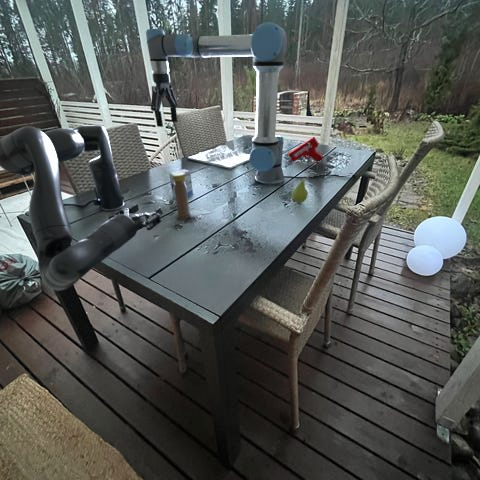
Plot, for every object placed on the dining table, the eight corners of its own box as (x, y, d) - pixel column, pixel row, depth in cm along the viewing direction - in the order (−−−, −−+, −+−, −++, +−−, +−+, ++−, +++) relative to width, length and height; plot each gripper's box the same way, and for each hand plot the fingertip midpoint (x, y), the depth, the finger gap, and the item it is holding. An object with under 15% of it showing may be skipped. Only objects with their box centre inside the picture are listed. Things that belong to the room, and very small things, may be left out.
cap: (187, 179, 101) (186, 174, 100) (175, 182, 99) (175, 176, 98) (182, 176, 104) (181, 170, 103) (171, 178, 102) (170, 173, 101)
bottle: (191, 217, 110) (187, 175, 100) (181, 220, 108) (175, 177, 98) (187, 213, 113) (181, 171, 104) (176, 216, 111) (170, 174, 101)
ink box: (187, 192, 132) (184, 168, 125) (193, 195, 129) (190, 170, 122) (172, 197, 127) (168, 172, 120) (178, 200, 124) (174, 175, 117)
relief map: (229, 168, 161) (229, 160, 158) (188, 158, 179) (187, 150, 176) (255, 158, 179) (255, 150, 177) (215, 150, 197) (215, 142, 194)
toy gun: (326, 156, 168) (314, 136, 164) (326, 158, 165) (313, 137, 161) (301, 172, 178) (289, 152, 174) (300, 174, 175) (288, 154, 171)
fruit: (288, 200, 123) (290, 174, 116) (302, 197, 125) (305, 172, 119) (296, 206, 118) (299, 179, 111) (310, 203, 120) (314, 177, 114)
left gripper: (134, 224, 69) (167, 200, 82) (89, 217, 73) (127, 195, 86) (140, 249, 73) (170, 221, 86) (97, 241, 77) (132, 216, 90)
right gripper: (167, 72, 132) (173, 119, 143) (136, 73, 112) (146, 128, 123) (181, 72, 130) (186, 120, 141) (151, 73, 110) (160, 129, 121)
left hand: (148, 208), depth 86 cm, fingers open, 8 cm apart
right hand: (167, 124), depth 132 cm, fingers open, 13 cm apart
